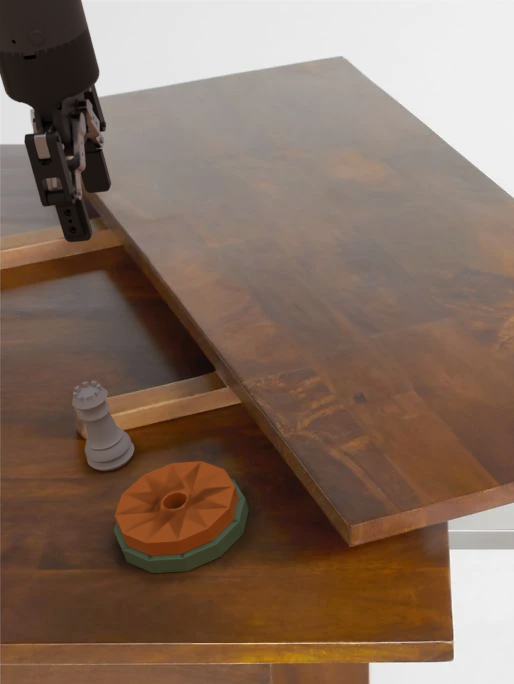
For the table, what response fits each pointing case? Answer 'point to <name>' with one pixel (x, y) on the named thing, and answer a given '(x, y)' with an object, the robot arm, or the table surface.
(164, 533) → the ring stack
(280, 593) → the table surface
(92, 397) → the grey chess rook
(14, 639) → the table surface
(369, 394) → the table surface
